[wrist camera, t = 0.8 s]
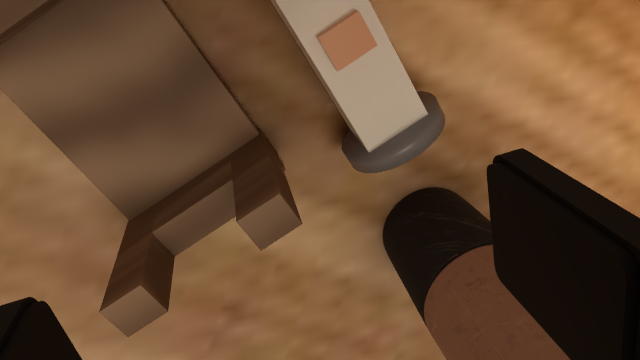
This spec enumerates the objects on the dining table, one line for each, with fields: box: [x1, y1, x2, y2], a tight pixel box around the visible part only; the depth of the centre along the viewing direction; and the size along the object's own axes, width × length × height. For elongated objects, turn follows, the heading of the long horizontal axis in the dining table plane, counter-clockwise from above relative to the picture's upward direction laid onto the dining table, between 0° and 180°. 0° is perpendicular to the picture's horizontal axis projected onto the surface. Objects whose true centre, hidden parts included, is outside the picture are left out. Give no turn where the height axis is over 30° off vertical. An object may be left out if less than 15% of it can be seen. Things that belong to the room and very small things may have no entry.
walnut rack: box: [0, 0, 302, 337], centre depth 25 cm, size 18×10×10 cm, turn 31°
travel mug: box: [383, 188, 570, 360], centre depth 28 cm, size 8×8×20 cm
